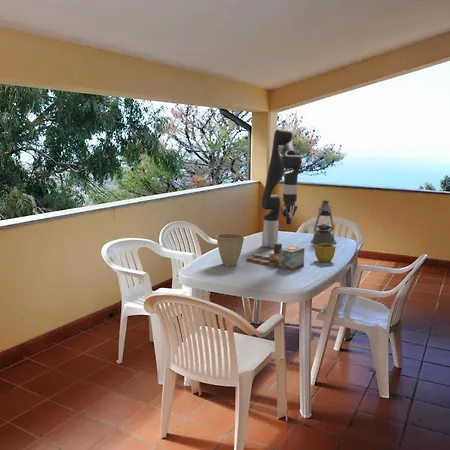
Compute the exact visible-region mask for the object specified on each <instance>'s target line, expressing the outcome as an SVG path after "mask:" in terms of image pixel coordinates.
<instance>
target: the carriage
mask: <svg viewBox="0 0 450 450" xmlns="http://www.w3.org/2000/svg"><path fill="white" fill-rule="evenodd" d="M280 249H283V245H282V243H279V242H278V243H276V244H274V248H273V251H270V252H269V255H268V256H269V258H270V260H271V261H276V262H279V251H280Z"/></svg>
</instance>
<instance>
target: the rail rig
mask: <svg viewBox="0 0 450 450" xmlns="http://www.w3.org/2000/svg"><path fill="white" fill-rule="evenodd" d="M290 247H293V248H297V249H296V250H289V249H287V248H290ZM246 262H250V263H254V262H255V263H256V264H259V265H263V264H264V266H268V265H269V267H272V268H278V269H282V270H287V271H295V270H298V269H300V268H302V267H304V266H305V247H301V246H295V245H290V246H286V247H284V248H283V247H282V249H280V251H279V262H276V261H271V260H270V258H269V255H265V254H258V253H253V256H250V257H246ZM255 263H254V264H255Z"/></svg>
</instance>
